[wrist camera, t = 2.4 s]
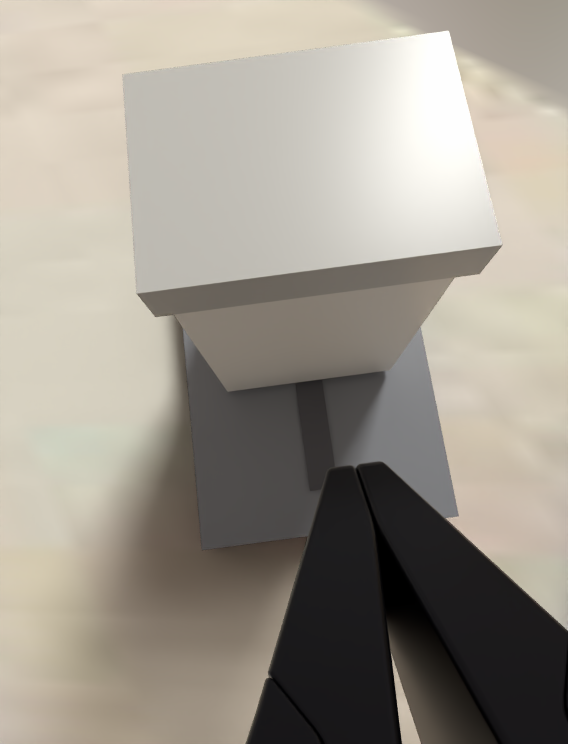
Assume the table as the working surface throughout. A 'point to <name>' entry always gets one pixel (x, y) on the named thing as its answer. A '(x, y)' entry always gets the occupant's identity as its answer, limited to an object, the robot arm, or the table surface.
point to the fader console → (308, 444)
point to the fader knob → (305, 204)
